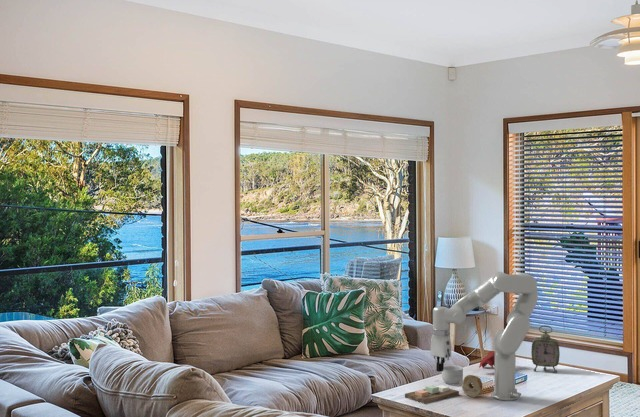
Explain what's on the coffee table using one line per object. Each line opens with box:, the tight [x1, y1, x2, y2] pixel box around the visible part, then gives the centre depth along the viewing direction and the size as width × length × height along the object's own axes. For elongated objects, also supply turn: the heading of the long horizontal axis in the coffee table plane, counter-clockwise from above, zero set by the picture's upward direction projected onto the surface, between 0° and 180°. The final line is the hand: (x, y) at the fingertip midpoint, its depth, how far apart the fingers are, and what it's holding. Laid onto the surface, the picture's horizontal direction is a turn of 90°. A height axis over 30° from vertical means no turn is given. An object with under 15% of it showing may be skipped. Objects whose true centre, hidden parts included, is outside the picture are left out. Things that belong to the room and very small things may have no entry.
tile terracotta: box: [414, 389, 428, 397], centre depth 327 cm, size 4×4×2 cm
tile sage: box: [424, 384, 439, 394], centre depth 331 cm, size 4×4×2 cm
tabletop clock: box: [530, 324, 560, 374], centre depth 381 cm, size 14×9×25 cm, turn 73°
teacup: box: [441, 364, 464, 385], centre depth 356 cm, size 14×11×8 cm
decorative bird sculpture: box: [478, 350, 495, 370], centre depth 384 cm, size 28×9×15 cm
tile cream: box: [436, 384, 450, 392], centre depth 335 cm, size 4×4×2 cm
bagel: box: [461, 374, 484, 398], centre depth 332 cm, size 10×4×10 cm, turn 43°
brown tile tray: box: [404, 387, 460, 404], centre depth 331 cm, size 12×24×2 cm, turn 127°
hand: (439, 370), depth 334 cm, fingers closed
